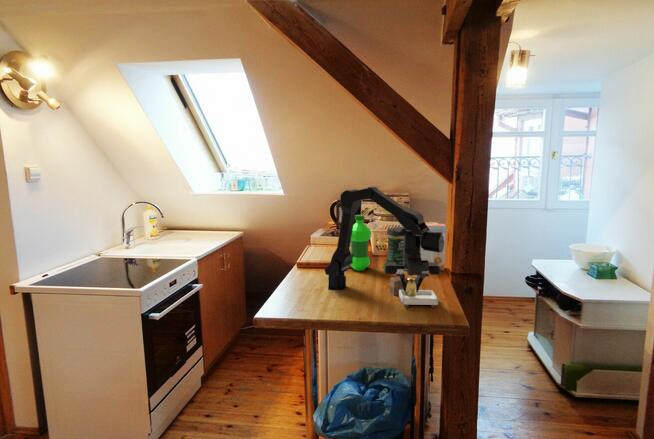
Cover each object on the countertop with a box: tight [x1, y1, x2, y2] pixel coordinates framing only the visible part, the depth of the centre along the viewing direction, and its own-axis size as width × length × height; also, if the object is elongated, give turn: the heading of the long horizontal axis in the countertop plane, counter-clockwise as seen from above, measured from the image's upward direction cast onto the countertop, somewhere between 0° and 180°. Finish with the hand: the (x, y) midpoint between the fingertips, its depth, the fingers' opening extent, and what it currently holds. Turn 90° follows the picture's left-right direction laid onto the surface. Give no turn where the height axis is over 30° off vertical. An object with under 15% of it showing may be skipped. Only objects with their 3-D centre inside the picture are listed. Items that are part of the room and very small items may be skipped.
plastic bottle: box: [350, 214, 372, 272], centre depth 178 cm, size 10×10×25 cm
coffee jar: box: [385, 226, 404, 265], centre depth 184 cm, size 10×8×19 cm
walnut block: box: [389, 276, 403, 296], centre depth 148 cm, size 4×4×6 cm
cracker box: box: [419, 222, 447, 271], centre depth 179 cm, size 14×6×21 cm, turn 77°
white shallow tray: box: [398, 289, 439, 309], centre depth 138 cm, size 12×9×3 cm
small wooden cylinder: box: [405, 276, 417, 297], centre depth 137 cm, size 4×4×6 cm
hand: (410, 291), depth 138 cm, fingers closed on small wooden cylinder, 4 cm apart
